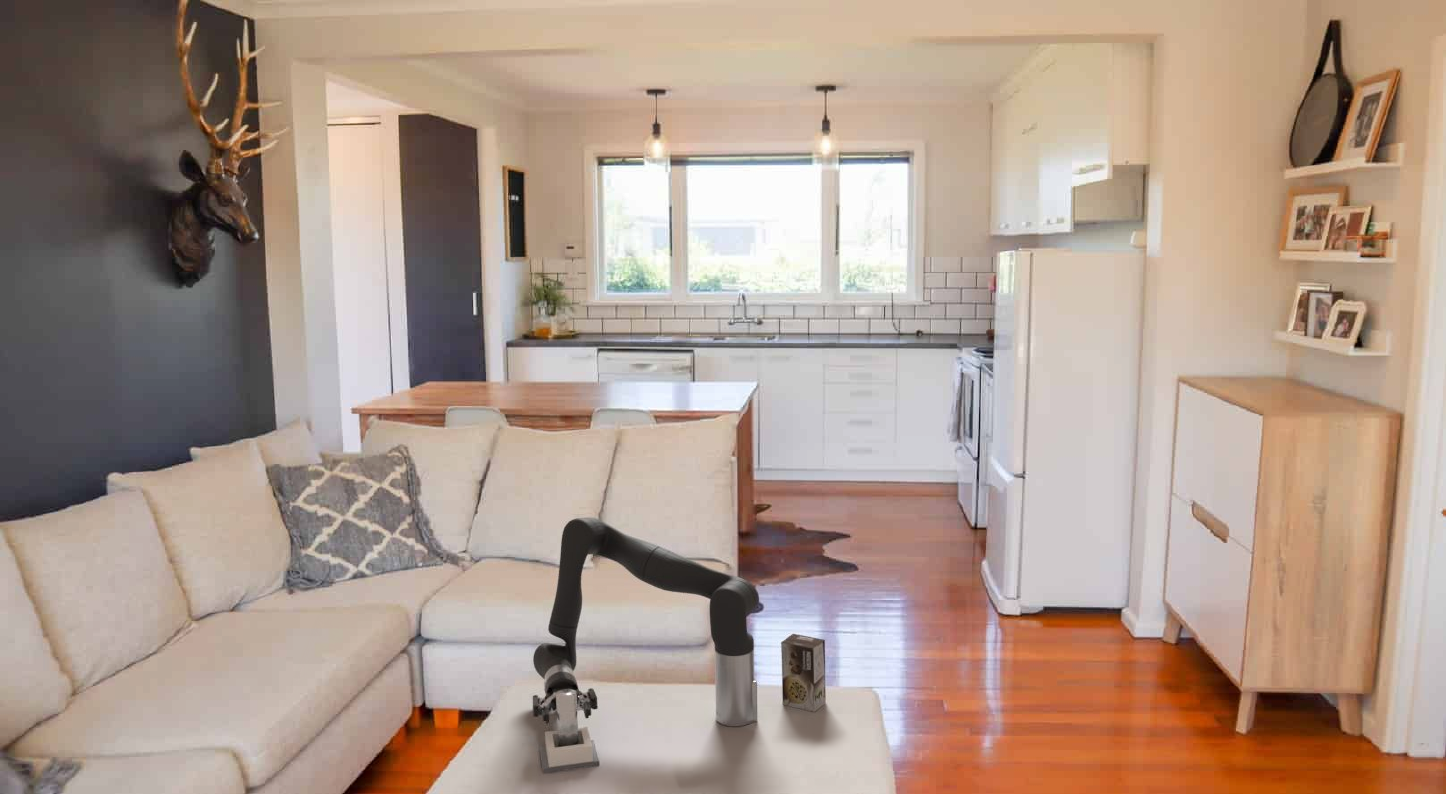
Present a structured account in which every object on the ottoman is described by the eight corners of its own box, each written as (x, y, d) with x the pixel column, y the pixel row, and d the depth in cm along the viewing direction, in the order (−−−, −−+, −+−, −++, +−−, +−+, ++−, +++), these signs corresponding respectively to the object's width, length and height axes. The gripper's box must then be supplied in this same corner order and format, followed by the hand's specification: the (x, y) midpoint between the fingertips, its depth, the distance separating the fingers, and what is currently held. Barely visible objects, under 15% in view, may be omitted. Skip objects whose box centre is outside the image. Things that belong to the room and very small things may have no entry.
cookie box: (826, 702, 250) (826, 639, 248) (814, 712, 245) (814, 648, 242) (793, 694, 255) (793, 632, 253) (781, 704, 250) (780, 641, 247)
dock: (593, 743, 231) (593, 725, 231) (599, 765, 222) (598, 745, 221) (540, 750, 229) (539, 731, 228) (543, 772, 219) (542, 753, 218)
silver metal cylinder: (577, 747, 228) (575, 687, 226) (579, 756, 224) (577, 696, 222) (557, 750, 227) (555, 690, 225) (559, 759, 222) (556, 698, 220)
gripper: (529, 674, 236) (533, 704, 221) (590, 667, 240) (599, 696, 224) (530, 705, 237) (535, 737, 222) (592, 697, 241) (600, 728, 225)
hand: (567, 716), depth 223 cm, fingers open, 8 cm apart
